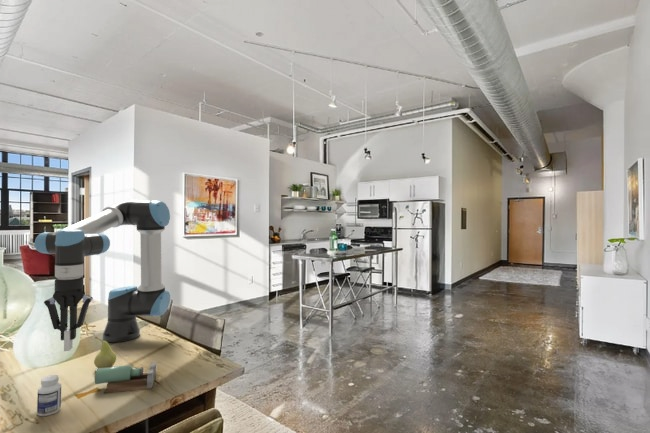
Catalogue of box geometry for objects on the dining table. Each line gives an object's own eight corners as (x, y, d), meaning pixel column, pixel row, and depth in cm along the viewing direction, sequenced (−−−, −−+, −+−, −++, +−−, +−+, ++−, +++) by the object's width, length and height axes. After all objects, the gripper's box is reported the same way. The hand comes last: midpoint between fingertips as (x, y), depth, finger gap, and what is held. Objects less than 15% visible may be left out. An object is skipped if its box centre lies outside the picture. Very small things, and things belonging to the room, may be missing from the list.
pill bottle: (45, 406, 103) (46, 373, 103) (64, 406, 104) (66, 373, 104) (32, 417, 98) (33, 382, 98) (52, 416, 98) (53, 382, 98)
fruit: (111, 372, 127) (112, 339, 127) (88, 372, 126) (89, 339, 126) (119, 364, 133) (120, 333, 133) (97, 365, 132) (98, 333, 132)
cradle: (111, 380, 120) (111, 366, 120) (155, 376, 125) (156, 362, 125) (103, 393, 112) (104, 377, 112) (151, 388, 116) (152, 373, 116)
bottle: (99, 366, 118) (144, 362, 122) (98, 381, 117) (143, 377, 121) (95, 370, 113) (141, 365, 117) (94, 386, 112) (140, 380, 117)
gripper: (39, 280, 107) (38, 356, 107) (88, 278, 111) (87, 352, 111) (50, 275, 114) (49, 346, 114) (96, 274, 118) (94, 343, 118)
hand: (68, 349), depth 113 cm, fingers closed
